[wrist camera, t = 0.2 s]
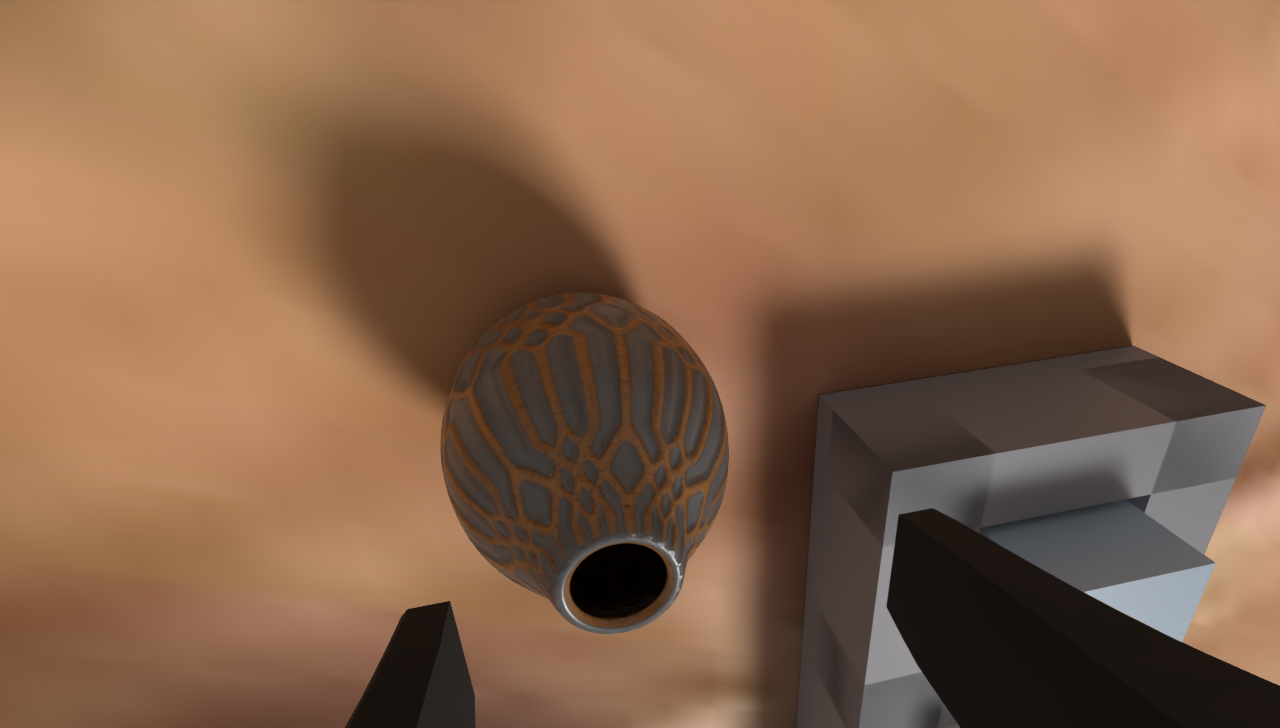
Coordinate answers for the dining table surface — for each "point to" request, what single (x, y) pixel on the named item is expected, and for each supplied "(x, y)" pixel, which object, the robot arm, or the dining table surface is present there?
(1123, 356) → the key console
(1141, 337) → the dining table surface
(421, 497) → the dining table surface
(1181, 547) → the slate key
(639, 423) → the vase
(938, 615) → the robot arm
